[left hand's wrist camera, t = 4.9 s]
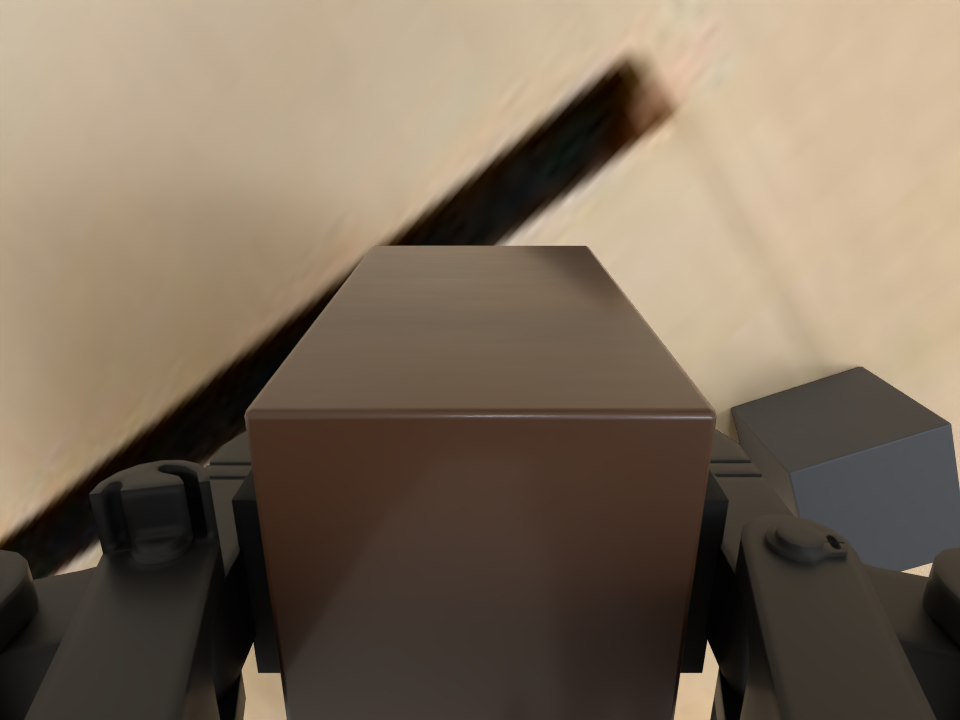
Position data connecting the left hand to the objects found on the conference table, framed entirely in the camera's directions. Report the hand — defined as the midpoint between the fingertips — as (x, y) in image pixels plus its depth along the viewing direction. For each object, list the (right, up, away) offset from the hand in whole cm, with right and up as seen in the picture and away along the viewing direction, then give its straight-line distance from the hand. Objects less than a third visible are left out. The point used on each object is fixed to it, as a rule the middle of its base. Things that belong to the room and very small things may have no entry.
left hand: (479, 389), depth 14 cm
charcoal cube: (+13, -3, +11) cm, 17 cm away
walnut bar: (0, -8, +3) cm, 9 cm away
